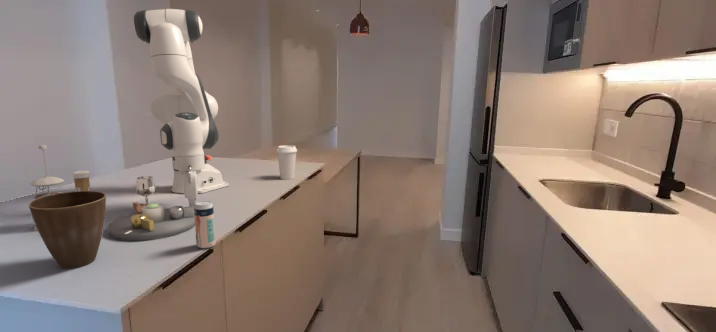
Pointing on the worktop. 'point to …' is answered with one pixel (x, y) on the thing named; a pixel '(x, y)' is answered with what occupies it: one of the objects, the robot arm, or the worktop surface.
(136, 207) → the knob copper
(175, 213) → the knob steel
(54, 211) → the plant pot
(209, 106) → the robot arm
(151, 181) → the wineglass
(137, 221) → the knob brass
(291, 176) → the coffee cup
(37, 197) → the vented spool lamp
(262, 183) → the worktop surface
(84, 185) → the sprinkles bottle
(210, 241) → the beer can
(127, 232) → the tribrach
